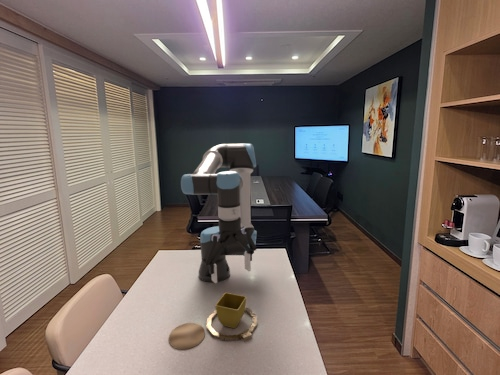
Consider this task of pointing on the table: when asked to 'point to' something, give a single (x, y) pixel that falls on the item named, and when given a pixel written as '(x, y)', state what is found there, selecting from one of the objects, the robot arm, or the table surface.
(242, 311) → the flower pot
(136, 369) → the table surface
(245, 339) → the socket ring
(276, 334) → the table surface
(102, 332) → the table surface
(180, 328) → the coaster
